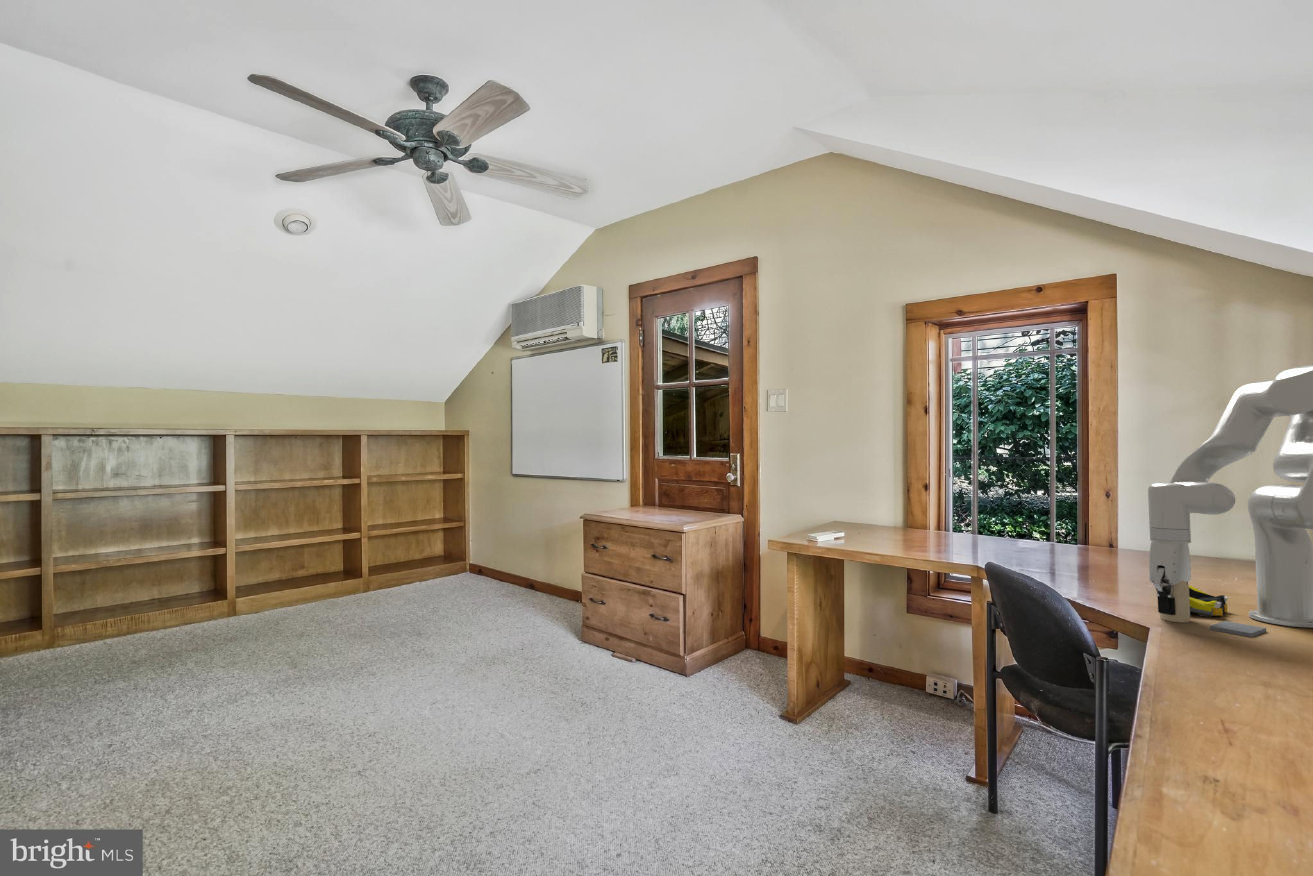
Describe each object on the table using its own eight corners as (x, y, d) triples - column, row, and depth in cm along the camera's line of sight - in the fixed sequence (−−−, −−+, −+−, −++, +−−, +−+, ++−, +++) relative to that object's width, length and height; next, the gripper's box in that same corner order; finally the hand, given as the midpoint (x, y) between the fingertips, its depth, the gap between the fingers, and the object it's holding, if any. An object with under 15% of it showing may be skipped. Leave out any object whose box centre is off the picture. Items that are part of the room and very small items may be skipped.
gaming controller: (1164, 613, 153) (1218, 621, 145) (1164, 591, 153) (1218, 597, 146) (1179, 603, 163) (1231, 610, 155) (1179, 582, 163) (1230, 588, 155)
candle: (1165, 622, 145) (1164, 578, 145) (1155, 616, 150) (1154, 574, 150) (1194, 623, 143) (1193, 580, 143) (1183, 617, 148) (1181, 575, 149)
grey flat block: (1225, 624, 142) (1225, 620, 142) (1266, 631, 136) (1266, 628, 136) (1209, 629, 138) (1209, 625, 138) (1251, 637, 132) (1251, 633, 132)
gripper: (1168, 531, 155) (1171, 604, 154) (1133, 536, 147) (1136, 613, 146) (1206, 534, 148) (1209, 610, 148) (1171, 539, 140) (1175, 620, 139)
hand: (1173, 611), depth 147 cm, fingers closed on candle, 5 cm apart
